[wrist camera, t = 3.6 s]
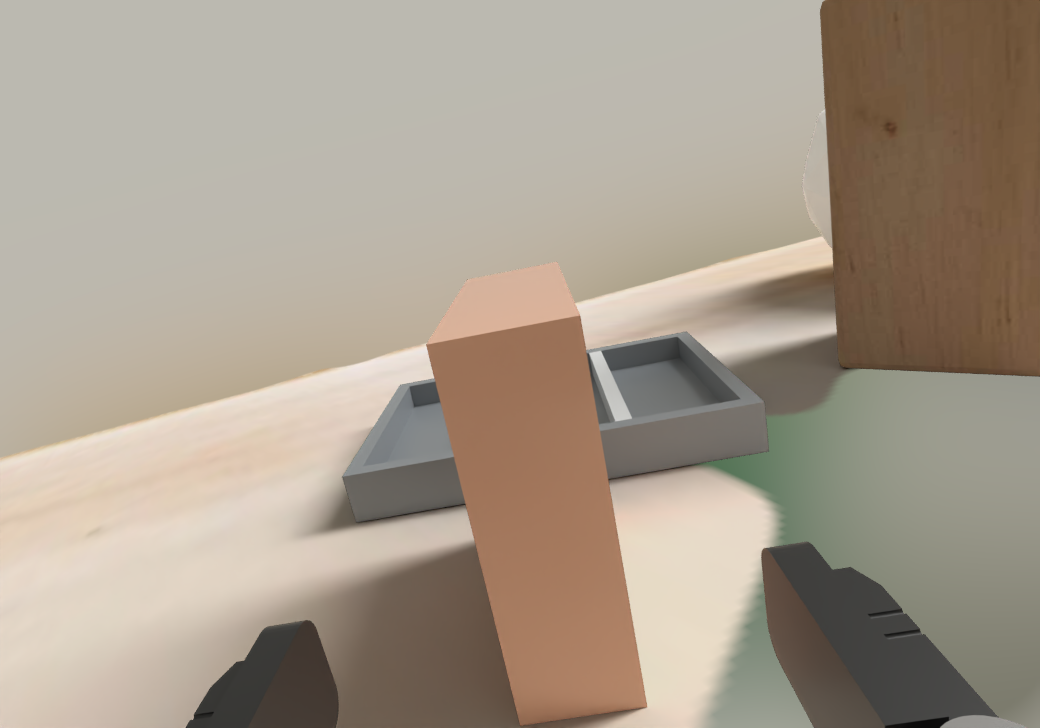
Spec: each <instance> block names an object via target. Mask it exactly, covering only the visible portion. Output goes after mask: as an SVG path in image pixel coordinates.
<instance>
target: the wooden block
mask: <svg viewBox="0 0 1040 728" xmlns="http://www.w3.org/2000/svg"><path fill="white" fill-rule="evenodd" d="M820 19H821V35H822V57H823V76H824V94H825V95H824V96H825V115H826V134H827V153H828V172H829V192H830V211H831V230H832V249H833V268H834V288H835V307H836V326H837V345H838V360H839V362H840V365H841V366H842V367H846V368H859V369H883V370H904V371H906V370H907V371H927V372H949V373H972V374H995V375H1018V376H1040V0H825V1H823V2H822V6H821V9H820Z"/></svg>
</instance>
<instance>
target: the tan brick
mask: <svg viewBox="0 0 1040 728" xmlns="http://www.w3.org/2000/svg"><path fill="white" fill-rule="evenodd" d="M426 346H427V350H428V354H429V358H430V362H431V366H432V370H433V374H434V378H435V382H436V386H437V390H438V394H439V398H440V402H441V406H442V411H443V415H444V419H445V423H446V427H447V431H448V435H449V439H450V443H451V447H452V451H453V455H454V459H455V463H456V467H457V471H458V475H459V479H460V484H461V488H462V492H463V496H464V500H465V504H466V508H467V512H468V516H469V520H470V524H471V528H472V532H473V536H474V540H475V544H476V548H477V552H478V556H479V561H480V565H481V569H482V573H483V577H484V581H485V585H486V589H487V593H488V597H489V601H490V605H491V609H492V613H493V617H494V621H495V625H496V629H497V633H498V638H499V642H500V646H501V650H502V654H503V658H504V662H505V666H506V670H507V674H508V678H509V682H510V686H511V690H512V694H513V698H514V702H515V706H516V711H517V715H518V719H519V723H520V726H522V725H529V724H536V723H543V722H549V721H556V720H563V719H570V718H576V717H583V716H590V715H596V714H603V713H610V712H617V711H623V710H630V709H637V708H644V707H647V703H646V697H645V691H644V685H643V679H642V673H641V668H640V662H639V656H638V650H637V644H636V638H635V633H634V627H633V621H632V615H631V609H630V603H629V598H628V592H627V586H626V580H625V574H624V568H623V563H622V557H621V551H620V545H619V539H618V534H617V528H616V522H615V516H614V510H613V504H612V499H611V493H610V487H609V481H608V475H607V469H606V464H605V458H604V452H603V446H602V440H601V434H600V429H599V423H598V417H597V411H596V405H595V399H594V394H593V388H592V382H591V376H590V370H589V365H588V359H587V353H586V347H585V341H584V335H583V330H582V324H581V318H580V314H579V312H578V309H577V307H576V305H575V302H574V300H573V298H572V295H571V293H570V291H569V289H568V286H567V284H566V282H565V279H564V277H563V274H562V272H561V269H560V267H559V265H558V263H557V262H554V263H549V264H543V265H538V266H534V267H528V268H523V269H518V270H513V271H507V272H503V273H497V274H492V275H487V276H482V277H477V278H472V279H467V280H466V282H465V284H464V285H463V287H462V288H461V290H460V292H459V293H458V295H457V296H456V298H455V299H454V301H453V303H452V304H451V306H450V307H449V309H448V311H447V312H446V314H445V315H444V317H443V319H442V320H441V322H440V323H439V325H438V327H437V328H436V330H435V331H434V333H433V335H432V336H431V338H430V339H429V341H428V343H427V344H426Z"/></svg>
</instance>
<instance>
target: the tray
mask: <svg viewBox="0 0 1040 728" xmlns="http://www.w3.org/2000/svg"><path fill="white" fill-rule="evenodd" d="M586 353H587V359H588V365H589V370H590V376H591V382H592V388H593V394H594V399H595V405H596V411H597V417H598V423H599V429H600V434H601V440H602V446H603V452H604V458H605V464H606V469H607V475H608V479H611V478H617V477H623V476H629V475H635V474H640V473H646V472H652V471H658V470H664V469H669V468H675V467H681V466H687V465H693V464H698V463H704V462H710V461H716V460H722V459H728V458H733V457H739V456H745V455H751V454H756V453H762V452H767V451H769V445H768V434H767V423H766V411H765V402H764V401H763V400H762V399H761V398H760V397H759V396H758V395H756V394H755V393H754V392H753V391H752V390H751V389H750V388H749V387H748V386H746V385H745V384H744V383H743V382H742V381H741V380H740V379H739V378H738V377H736V376H735V375H734V374H733V373H732V372H731V371H730V370H729V369H728V368H726V367H725V366H724V365H723V364H722V363H721V362H720V361H719V360H718V359H716V358H715V357H714V356H713V355H712V354H711V353H710V352H709V351H708V350H706V349H705V348H704V347H703V346H702V345H701V344H700V343H699V342H697V341H696V340H695V339H694V338H693V337H692V336H691V335H690V334H689V333H687V332H682V333H676V334H671V335H666V336H660V337H655V338H649V339H644V340H639V341H633V342H628V343H623V344H617V345H612V346H606V347H601V348H596V349H590V350H586ZM342 477H343V481H344V484H345V487H346V491H347V494H348V497H349V500H350V504H351V507H352V510H353V513H354V517H355V520H356V522H362V521H368V520H374V519H379V518H385V517H391V516H397V515H403V514H408V513H414V512H420V511H426V510H432V509H437V508H443V507H449V506H455V505H461V504H465V500H464V496H463V492H462V488H461V484H460V479H459V475H458V471H457V467H456V463H455V459H454V455H453V451H452V447H451V443H450V439H449V435H448V431H447V427H446V423H445V419H444V415H443V411H442V406H441V402H440V398H439V394H438V390H437V386H436V382H435V378H434V379H429V380H424V381H418V382H413V383H407V384H402V385H400V386H399V388H398V389H397V391H396V392H395V394H394V396H393V397H392V399H391V400H390V402H389V404H388V405H387V407H386V408H385V410H384V411H383V413H382V415H381V416H380V418H379V419H378V421H377V423H376V424H375V426H374V427H373V429H372V430H371V432H370V434H369V435H368V437H367V438H366V440H365V442H364V443H363V445H362V446H361V448H360V449H359V451H358V453H357V454H356V456H355V457H354V459H353V461H352V462H351V464H350V465H349V467H348V469H347V470H346V472H345V473H344V475H343V476H342Z"/></svg>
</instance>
